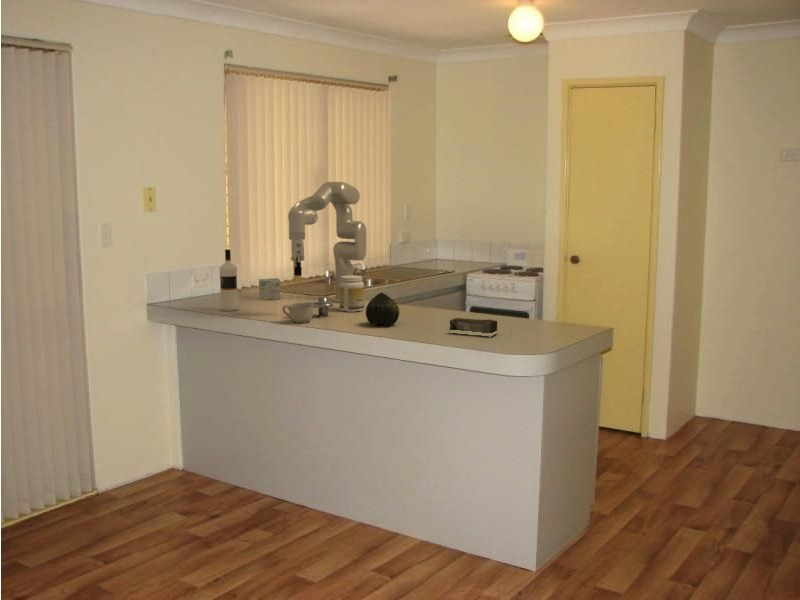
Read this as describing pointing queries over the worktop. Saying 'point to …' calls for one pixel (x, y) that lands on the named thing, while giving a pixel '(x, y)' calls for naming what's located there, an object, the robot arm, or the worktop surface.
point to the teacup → (299, 312)
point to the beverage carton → (473, 325)
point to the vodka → (228, 285)
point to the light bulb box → (269, 289)
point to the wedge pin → (296, 278)
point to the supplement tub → (351, 293)
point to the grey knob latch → (322, 305)
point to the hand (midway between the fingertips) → (297, 274)
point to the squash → (382, 310)
